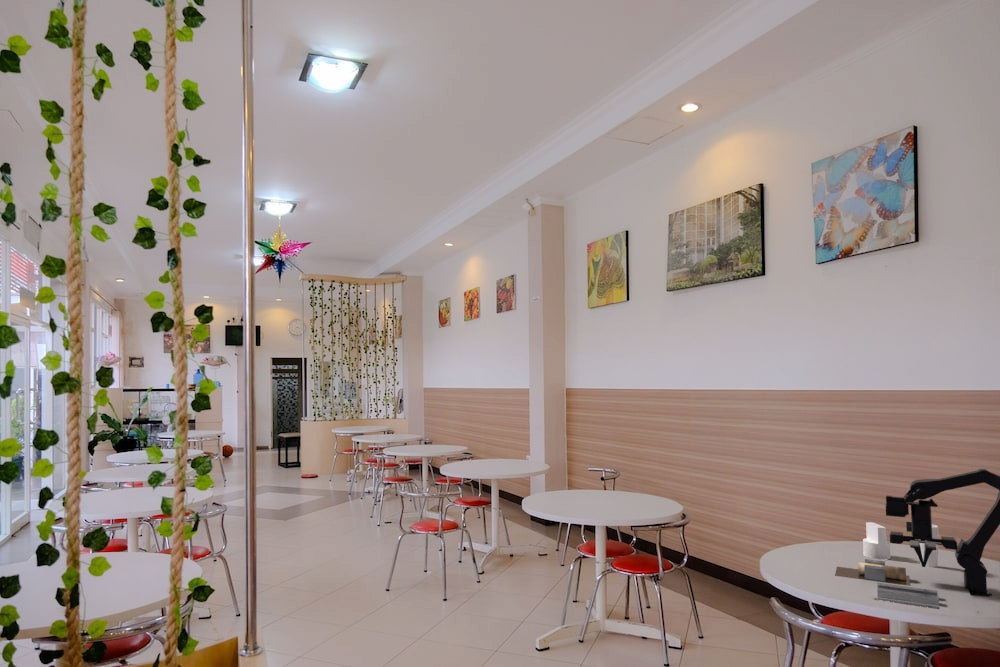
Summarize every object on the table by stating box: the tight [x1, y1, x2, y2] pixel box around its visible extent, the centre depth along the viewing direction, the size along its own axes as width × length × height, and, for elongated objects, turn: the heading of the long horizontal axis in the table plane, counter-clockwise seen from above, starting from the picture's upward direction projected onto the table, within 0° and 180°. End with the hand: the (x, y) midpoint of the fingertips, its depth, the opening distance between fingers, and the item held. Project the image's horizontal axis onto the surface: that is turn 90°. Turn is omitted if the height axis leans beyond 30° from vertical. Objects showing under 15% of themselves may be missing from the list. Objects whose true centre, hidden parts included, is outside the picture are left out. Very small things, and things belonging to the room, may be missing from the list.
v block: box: [876, 582, 940, 610], centre depth 206 cm, size 16×9×3 cm, turn 60°
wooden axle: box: [857, 561, 907, 580], centre depth 226 cm, size 14×4×4 cm, turn 60°
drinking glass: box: [919, 523, 940, 568], centre depth 240 cm, size 7×7×15 cm
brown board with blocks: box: [834, 558, 911, 587], centre depth 227 cm, size 22×12×5 cm, turn 60°
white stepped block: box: [862, 521, 892, 561], centre depth 254 cm, size 9×9×12 cm
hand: (923, 566), depth 220 cm, fingers closed
